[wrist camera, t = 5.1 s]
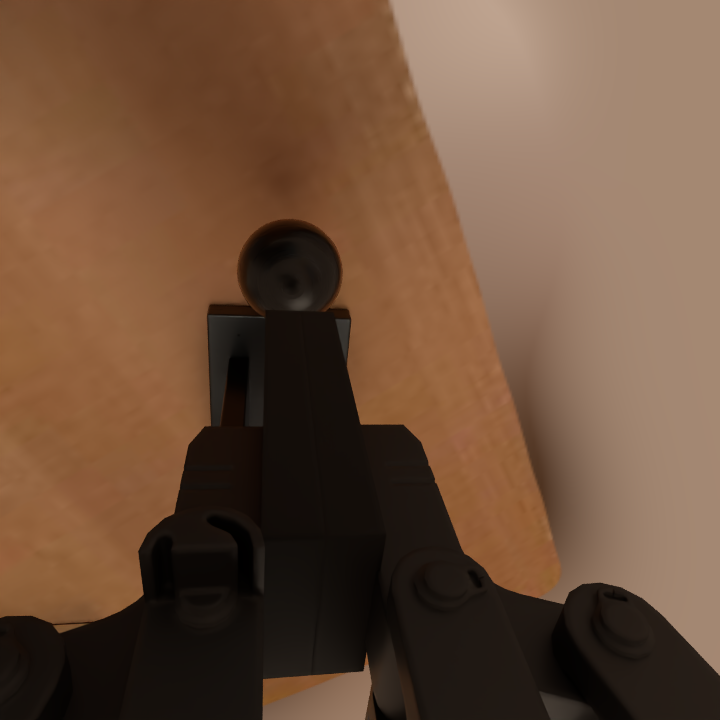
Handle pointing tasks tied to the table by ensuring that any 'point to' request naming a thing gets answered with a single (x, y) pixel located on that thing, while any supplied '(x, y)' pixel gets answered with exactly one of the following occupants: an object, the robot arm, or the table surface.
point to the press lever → (289, 268)
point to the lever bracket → (244, 362)
